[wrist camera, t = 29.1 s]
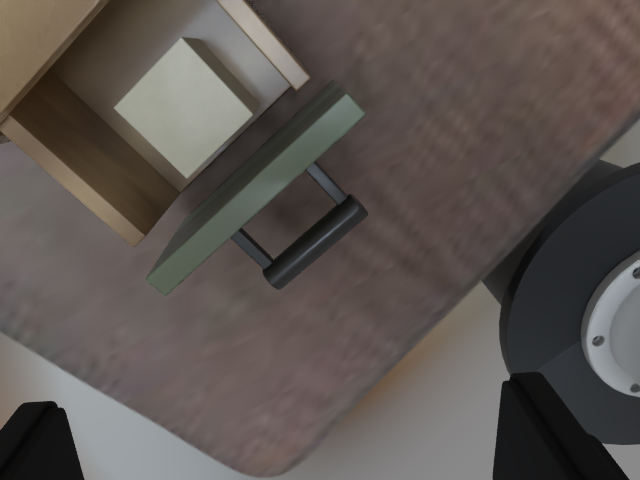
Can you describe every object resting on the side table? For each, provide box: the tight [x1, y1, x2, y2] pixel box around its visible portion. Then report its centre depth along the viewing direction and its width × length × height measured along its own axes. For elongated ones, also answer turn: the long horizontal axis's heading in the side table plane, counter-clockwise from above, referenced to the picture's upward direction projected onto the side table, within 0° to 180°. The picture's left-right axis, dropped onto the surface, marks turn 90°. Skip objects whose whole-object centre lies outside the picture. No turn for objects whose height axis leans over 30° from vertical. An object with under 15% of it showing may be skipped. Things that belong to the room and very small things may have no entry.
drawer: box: [0, 0, 368, 296], centre depth 24 cm, size 18×12×8 cm
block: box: [114, 37, 260, 178], centre depth 24 cm, size 4×4×4 cm
